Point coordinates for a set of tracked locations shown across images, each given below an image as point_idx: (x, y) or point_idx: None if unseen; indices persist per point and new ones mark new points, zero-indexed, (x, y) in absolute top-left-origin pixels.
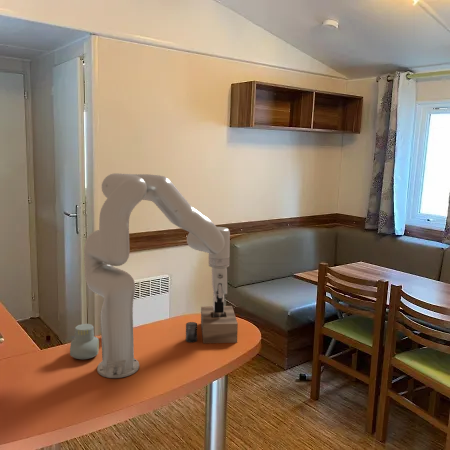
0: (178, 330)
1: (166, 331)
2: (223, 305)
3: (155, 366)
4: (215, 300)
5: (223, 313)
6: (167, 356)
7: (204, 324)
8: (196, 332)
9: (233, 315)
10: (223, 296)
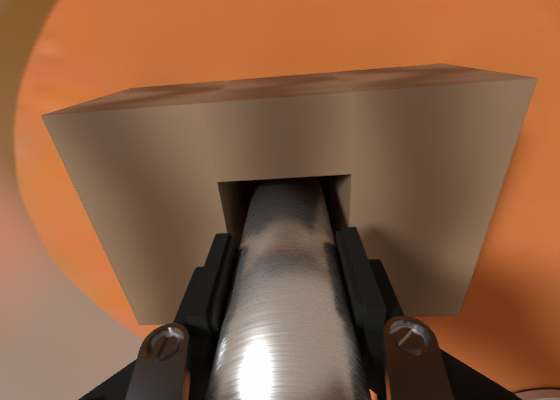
0: None
1: None
2: (372, 273)
3: (554, 358)
4: (377, 396)
5: (310, 208)
6: (493, 336)
7: (459, 308)
8: None
9: (311, 111)
10: (339, 371)
